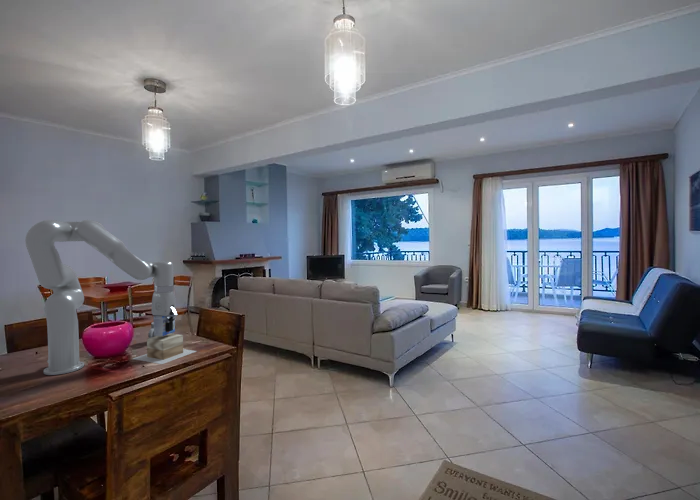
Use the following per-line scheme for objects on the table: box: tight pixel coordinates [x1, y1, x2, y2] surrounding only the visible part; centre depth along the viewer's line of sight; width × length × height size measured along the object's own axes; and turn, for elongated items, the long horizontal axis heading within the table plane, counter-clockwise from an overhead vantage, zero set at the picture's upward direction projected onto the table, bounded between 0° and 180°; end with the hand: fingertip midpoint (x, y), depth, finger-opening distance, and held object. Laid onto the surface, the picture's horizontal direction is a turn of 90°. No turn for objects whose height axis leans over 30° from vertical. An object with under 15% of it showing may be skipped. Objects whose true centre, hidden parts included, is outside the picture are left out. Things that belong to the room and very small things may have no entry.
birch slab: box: [146, 333, 184, 350], centre depth 153 cm, size 10×10×4 cm
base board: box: [132, 348, 197, 365], centre depth 153 cm, size 18×18×1 cm
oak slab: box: [146, 343, 184, 360], centre depth 153 cm, size 10×10×4 cm
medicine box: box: [152, 314, 176, 336], centre depth 152 cm, size 8×4×9 cm, turn 168°
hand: (164, 330), depth 152 cm, fingers closed on medicine box, 5 cm apart
